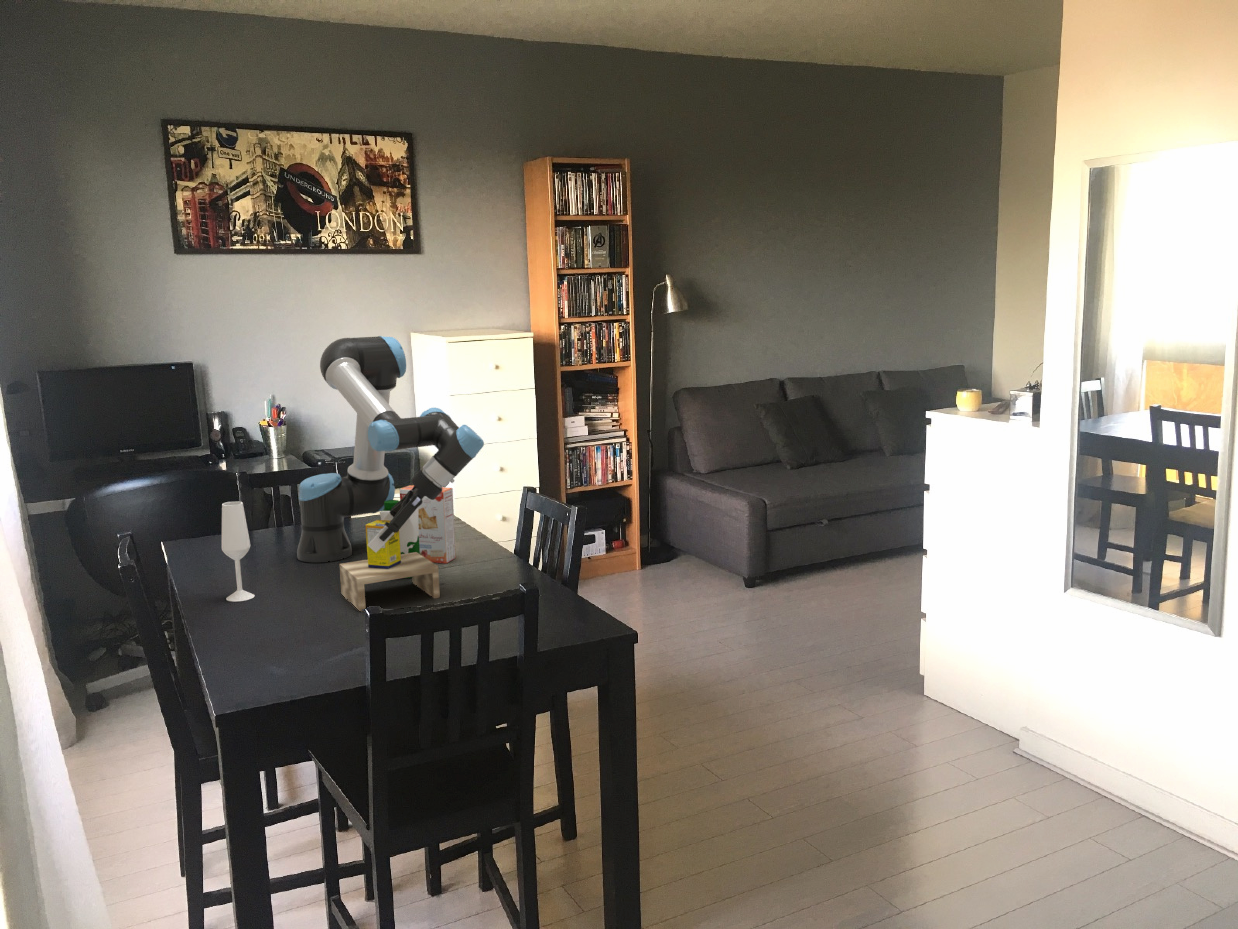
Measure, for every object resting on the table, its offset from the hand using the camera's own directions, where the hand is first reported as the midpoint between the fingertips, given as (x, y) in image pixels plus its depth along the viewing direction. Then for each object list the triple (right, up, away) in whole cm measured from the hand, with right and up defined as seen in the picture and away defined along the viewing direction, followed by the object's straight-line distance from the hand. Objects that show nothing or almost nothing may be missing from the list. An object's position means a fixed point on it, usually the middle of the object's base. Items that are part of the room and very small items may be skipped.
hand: (373, 542), depth 238 cm
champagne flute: (-34, -14, +4) cm, 38 cm away
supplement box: (+2, -6, +2) cm, 7 cm away
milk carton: (+2, -11, +22) cm, 25 cm away
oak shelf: (+3, -14, +3) cm, 15 cm away
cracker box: (+7, -8, +36) cm, 38 cm away
